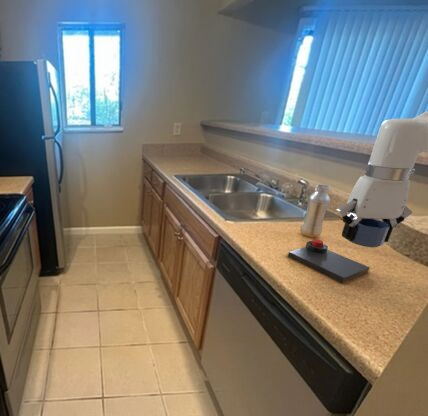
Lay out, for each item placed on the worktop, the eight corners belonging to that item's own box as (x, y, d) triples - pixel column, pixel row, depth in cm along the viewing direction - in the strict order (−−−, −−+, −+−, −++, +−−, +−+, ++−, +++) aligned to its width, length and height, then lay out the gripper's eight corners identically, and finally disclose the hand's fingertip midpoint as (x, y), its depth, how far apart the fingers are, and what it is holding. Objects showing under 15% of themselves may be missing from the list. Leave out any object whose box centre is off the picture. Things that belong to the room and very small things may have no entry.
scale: (367, 272, 83) (371, 262, 82) (341, 283, 78) (345, 273, 77) (311, 248, 97) (313, 239, 96) (286, 256, 92) (288, 247, 91)
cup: (387, 244, 70) (395, 224, 68) (372, 250, 67) (380, 230, 65) (354, 233, 76) (360, 215, 74) (338, 238, 74) (345, 219, 72)
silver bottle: (320, 241, 102) (335, 189, 95) (298, 236, 106) (311, 186, 99) (320, 234, 107) (335, 185, 99) (299, 230, 111) (312, 182, 103)
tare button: (324, 246, 92) (325, 242, 91) (318, 248, 91) (320, 243, 90) (315, 243, 94) (316, 238, 94) (309, 244, 93) (311, 240, 93)
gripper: (413, 169, 68) (388, 233, 74) (336, 169, 70) (318, 231, 76) (445, 177, 61) (414, 247, 67) (359, 176, 63) (337, 244, 69)
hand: (363, 238), depth 72 cm, fingers closed on cup, 7 cm apart
